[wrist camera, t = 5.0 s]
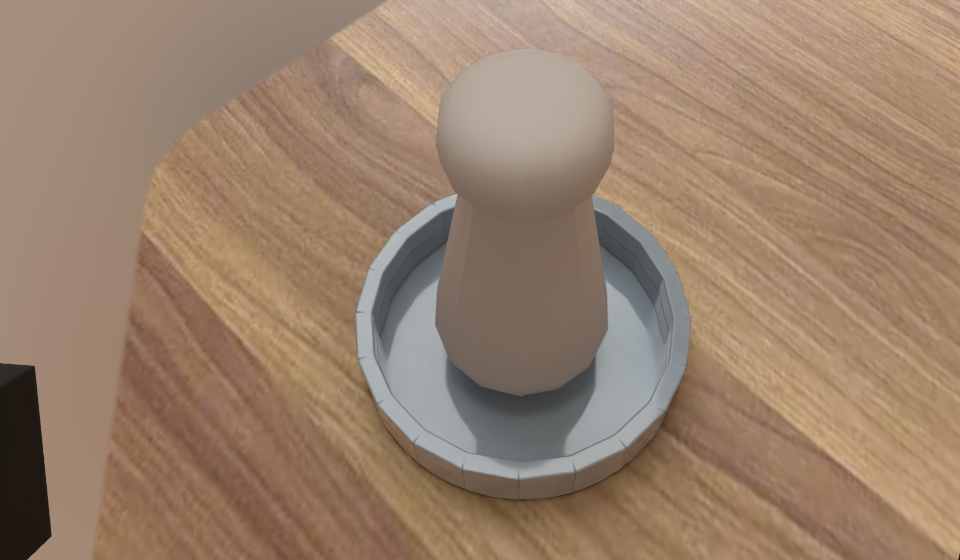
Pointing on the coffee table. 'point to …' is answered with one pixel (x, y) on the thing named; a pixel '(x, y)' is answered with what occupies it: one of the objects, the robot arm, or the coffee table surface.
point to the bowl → (535, 417)
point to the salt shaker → (523, 220)
